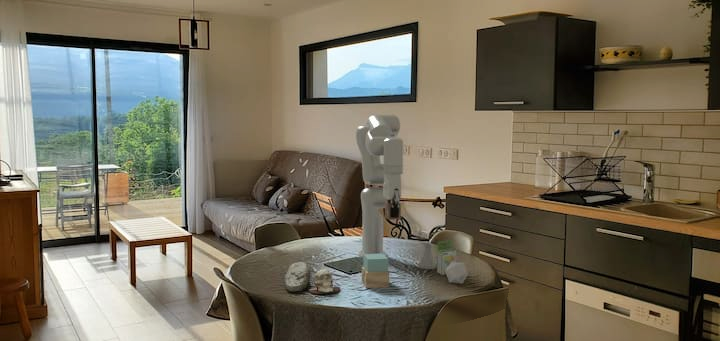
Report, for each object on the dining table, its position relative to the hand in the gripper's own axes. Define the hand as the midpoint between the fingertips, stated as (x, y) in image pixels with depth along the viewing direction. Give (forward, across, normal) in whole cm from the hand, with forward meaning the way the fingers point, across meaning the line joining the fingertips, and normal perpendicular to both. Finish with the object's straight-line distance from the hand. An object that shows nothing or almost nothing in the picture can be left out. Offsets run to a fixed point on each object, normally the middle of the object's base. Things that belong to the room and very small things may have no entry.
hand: (392, 215), depth 230 cm
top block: (+20, +4, -8) cm, 22 cm away
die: (+26, +8, +24) cm, 36 cm away
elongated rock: (+26, -8, -36) cm, 45 cm away
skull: (+26, +8, -28) cm, 39 cm away
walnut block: (+1, 0, 0) cm, 1 cm away
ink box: (+26, -4, +25) cm, 36 cm away
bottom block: (+26, +4, -8) cm, 27 cm away
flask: (+26, -14, +20) cm, 36 cm away
